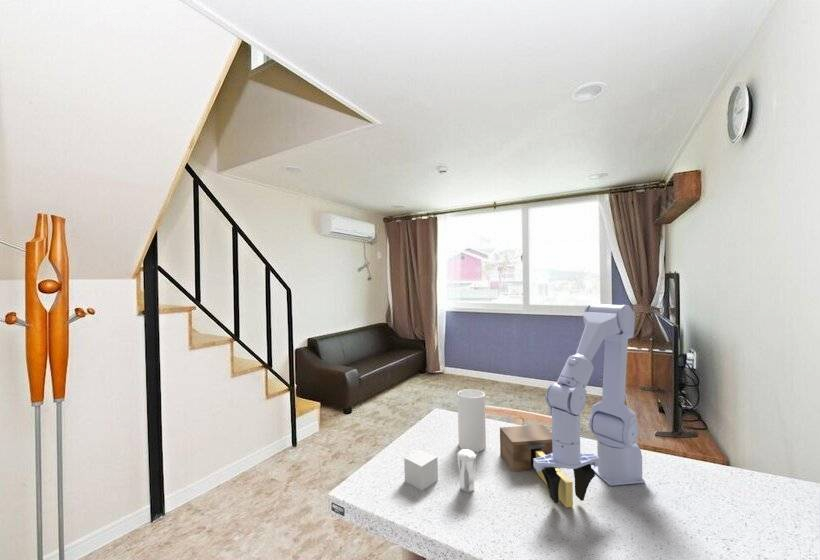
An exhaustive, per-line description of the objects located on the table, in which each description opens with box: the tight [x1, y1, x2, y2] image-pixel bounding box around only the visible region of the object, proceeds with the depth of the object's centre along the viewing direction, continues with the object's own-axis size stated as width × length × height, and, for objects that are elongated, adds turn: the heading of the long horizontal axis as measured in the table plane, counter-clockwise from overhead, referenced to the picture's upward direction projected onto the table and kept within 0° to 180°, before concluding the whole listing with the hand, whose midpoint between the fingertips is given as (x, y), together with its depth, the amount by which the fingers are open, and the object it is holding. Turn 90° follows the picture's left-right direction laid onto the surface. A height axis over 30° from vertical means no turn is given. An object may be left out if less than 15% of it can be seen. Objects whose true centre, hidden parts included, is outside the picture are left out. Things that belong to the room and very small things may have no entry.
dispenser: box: [499, 424, 552, 473], centre depth 95 cm, size 13×10×8 cm
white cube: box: [403, 449, 439, 492], centre depth 87 cm, size 6×6×6 cm
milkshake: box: [456, 449, 480, 493], centre depth 84 cm, size 4×5×10 cm
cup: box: [457, 388, 487, 453], centre depth 105 cm, size 8×8×16 cm
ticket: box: [535, 451, 574, 508], centre depth 83 cm, size 2×14×6 cm, turn 6°
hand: (567, 499), depth 77 cm, fingers open, 5 cm apart
